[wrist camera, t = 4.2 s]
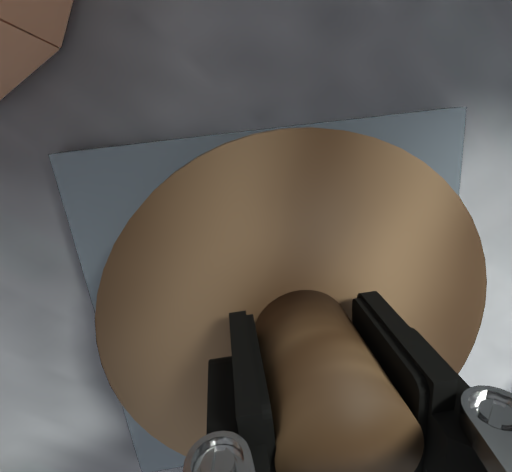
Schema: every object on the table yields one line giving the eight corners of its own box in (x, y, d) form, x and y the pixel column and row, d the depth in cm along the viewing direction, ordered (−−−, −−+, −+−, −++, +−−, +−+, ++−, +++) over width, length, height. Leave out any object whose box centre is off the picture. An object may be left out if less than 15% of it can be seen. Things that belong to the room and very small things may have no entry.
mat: (451, 107, 13) (466, 106, 12) (429, 405, 17) (439, 418, 16) (59, 152, 12) (48, 154, 11) (145, 457, 16) (142, 474, 15)
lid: (491, 103, 10) (742, 94, 5) (453, 424, 15) (573, 579, 10) (50, 155, 10) (-129, 199, 5) (149, 480, 14) (113, 682, 9)
